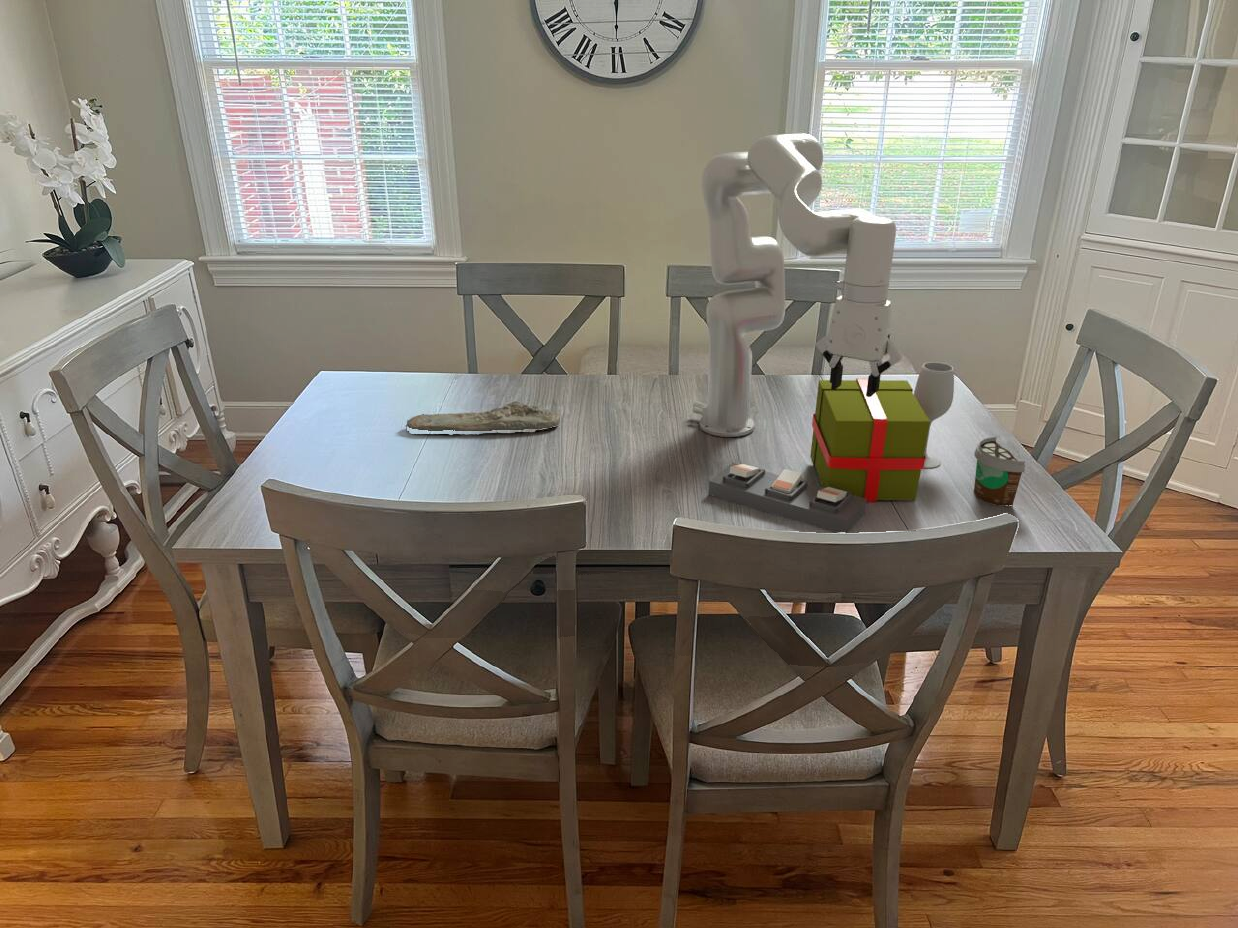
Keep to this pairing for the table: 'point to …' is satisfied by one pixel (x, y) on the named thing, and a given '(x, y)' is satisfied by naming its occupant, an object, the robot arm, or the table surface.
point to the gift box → (869, 439)
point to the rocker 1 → (744, 470)
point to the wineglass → (934, 396)
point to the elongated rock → (488, 419)
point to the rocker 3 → (831, 494)
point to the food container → (996, 473)
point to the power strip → (788, 500)
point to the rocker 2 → (787, 481)
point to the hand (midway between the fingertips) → (853, 390)
